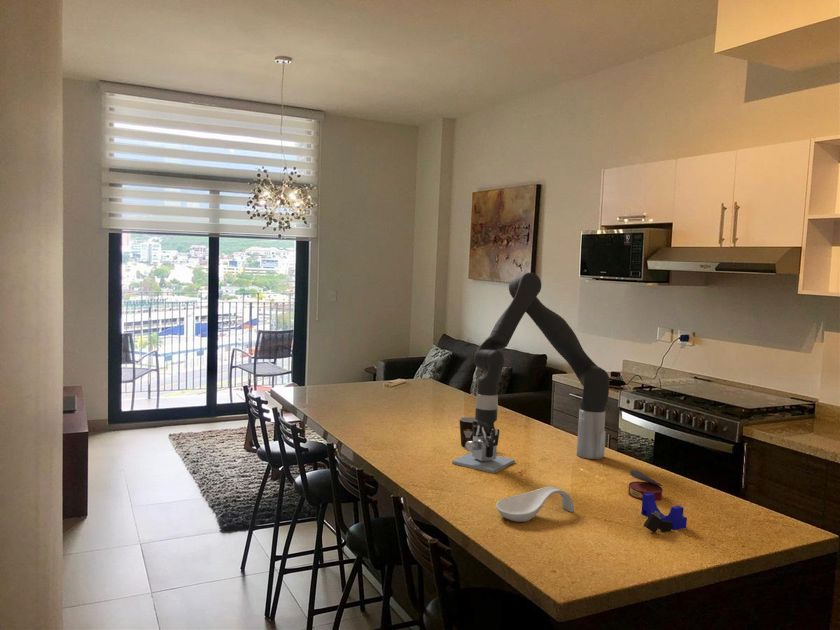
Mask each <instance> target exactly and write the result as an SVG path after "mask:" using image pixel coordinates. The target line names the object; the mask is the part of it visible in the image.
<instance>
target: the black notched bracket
mask: <svg viewBox="0 0 840 630" xmlns="http://www.w3.org/2000/svg"><path fill="white" fill-rule="evenodd" d="M661 513H662V512H661ZM661 513H659V512H657V511H655V512H654V514H653V513H650V515H649V516H648V517H646V518H647V519H646V520H645V522H644V523H643V525H642V526H643V527H645V528H646V529H647V530H649V531H650V532H652V533H653V534H656V533H657V531H658V530H660V531H661V532H664V533H670V532H672V524H673V523H672V522H671V521H669V520H661V517H659V516H660V514H661Z"/></svg>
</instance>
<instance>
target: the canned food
mask: <svg viewBox="0 0 840 630" xmlns="http://www.w3.org/2000/svg"><path fill="white" fill-rule="evenodd" d="M629 474H630V475H631V477H632V478H635V479H637V480H639V481H631V482H629V483H628V492H627V494H628V496H629V497H631V498H633V499H635V500H638V501H642V497H643V494H646V493H652V494H655V502H660V501H661V500H662V499H663V490H664V489H663V485H662V484H661V483H659V482H658V481H656V480H655V479H653V478H651V477H650V476H648V475H646V474H645V473H643V472H641V471H639V470H637V469H630V470H629Z"/></svg>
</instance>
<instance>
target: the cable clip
mask: <svg viewBox="0 0 840 630" xmlns="http://www.w3.org/2000/svg"><path fill="white" fill-rule="evenodd" d="M684 509H685V508H684V506H682V505H675V506H671V507H670V511H669V513H668V515H665V514H663V513H662V512H661V511H660V509H659V507H658V506H657V501H655V494H652V493H646V494H643V497H642V500H641V515H642V516H644V517H646V518H648V516H649V515H650V513H653V514H654V512H655V511H657V512H659V513H661V514H660V516H659V517H661V520H669V521H671V522H672V523H673V524H672V529H671V531H678V530H683V529H686V528H687V524H688V523H687V522H688V517H686V516H684Z"/></svg>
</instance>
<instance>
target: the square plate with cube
mask: <svg viewBox="0 0 840 630" xmlns="http://www.w3.org/2000/svg"><path fill="white" fill-rule="evenodd" d="M515 463H516V461H515V459H514V458H510V457H504V456H501V455H496V459H494V460H486V461H480V460H478V459H476V458H475V457H473V456H472V451H470V452H468V453H467V454H464V455H462V456H459V457H456V459H453V460H452V461H451V464H453V465H457V466H459V467H465V468H470V469H474V470H479V471H483V472H486V473H487V472H488V473H492V474H495V473H498V472H499V471H501V470H503V469H504V468H507V467H509V466H510V465H512V464H515Z"/></svg>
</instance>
